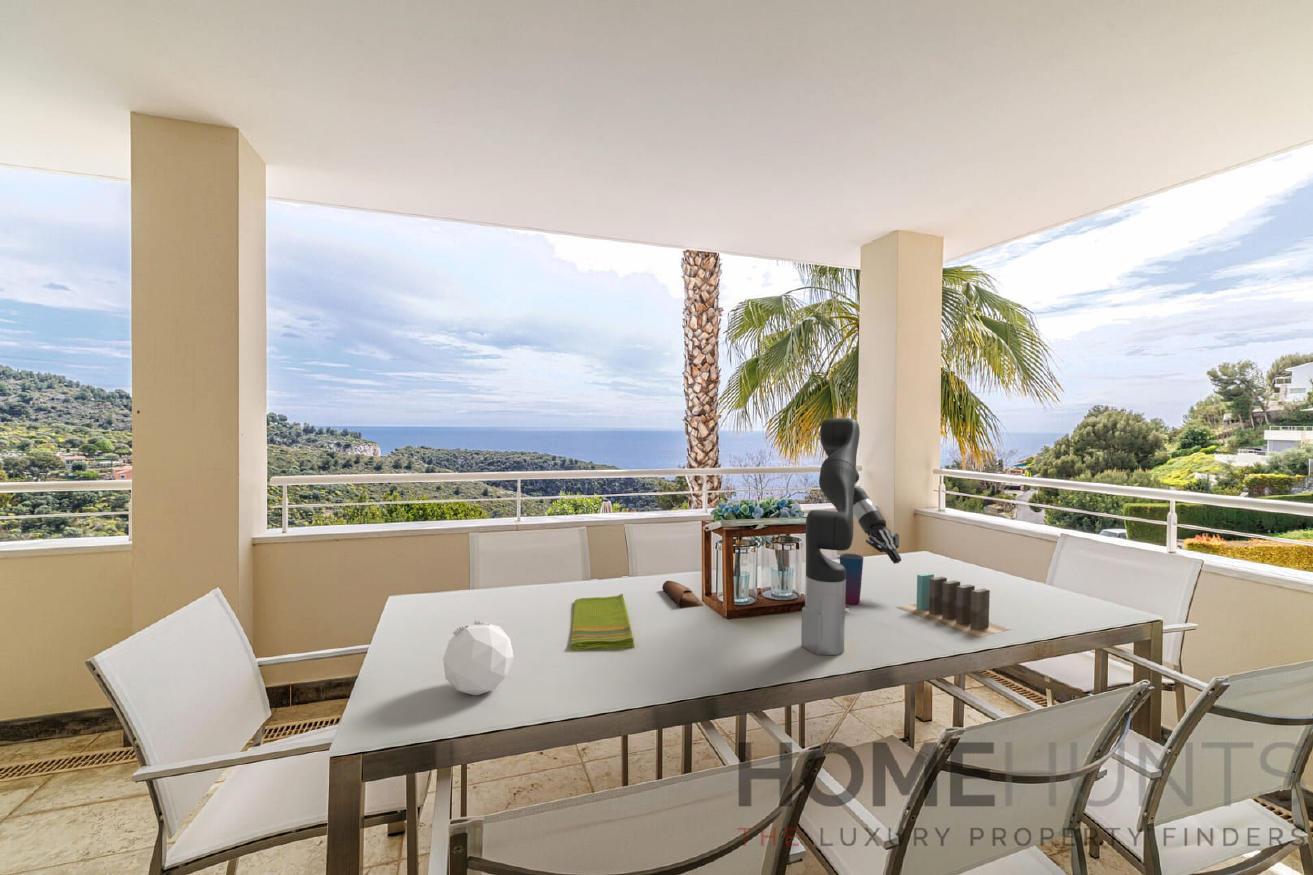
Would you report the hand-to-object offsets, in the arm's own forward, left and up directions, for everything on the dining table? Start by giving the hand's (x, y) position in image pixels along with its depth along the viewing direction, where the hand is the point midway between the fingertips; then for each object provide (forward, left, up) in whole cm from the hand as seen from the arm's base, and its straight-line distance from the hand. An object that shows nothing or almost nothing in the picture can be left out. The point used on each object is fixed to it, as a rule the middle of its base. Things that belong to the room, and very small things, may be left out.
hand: (898, 561), depth 169 cm
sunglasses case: (-60, +29, -13) cm, 67 cm away
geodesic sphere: (-125, -8, -13) cm, 126 cm away
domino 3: (0, -18, -11) cm, 21 cm away
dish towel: (-90, +18, -13) cm, 93 cm away
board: (0, -18, -12) cm, 22 cm away
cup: (-16, +3, -13) cm, 21 cm away
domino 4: (0, -22, -11) cm, 25 cm away
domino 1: (0, -10, -11) cm, 15 cm away
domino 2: (0, -14, -11) cm, 18 cm away
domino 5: (0, -26, -11) cm, 29 cm away
